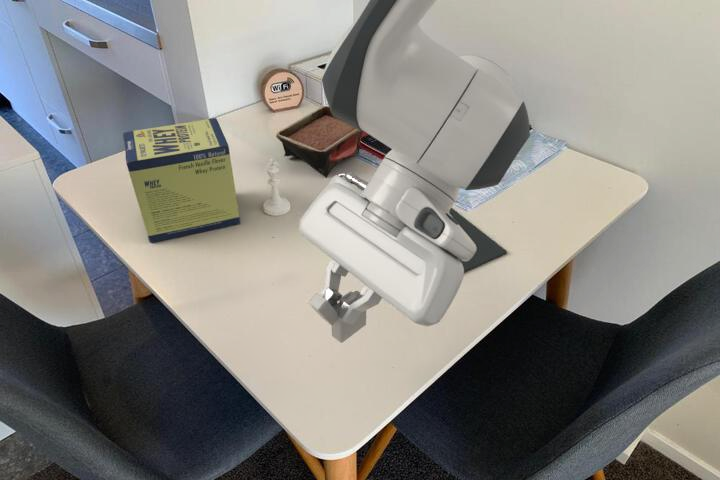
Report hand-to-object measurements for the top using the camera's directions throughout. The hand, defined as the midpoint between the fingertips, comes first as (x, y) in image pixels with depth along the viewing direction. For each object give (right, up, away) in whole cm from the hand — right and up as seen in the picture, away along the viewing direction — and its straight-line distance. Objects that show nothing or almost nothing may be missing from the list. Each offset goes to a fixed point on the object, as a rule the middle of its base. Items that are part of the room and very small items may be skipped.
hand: (334, 312), depth 56 cm
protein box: (-27, +12, +36) cm, 47 cm away
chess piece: (-12, +13, +39) cm, 43 cm away
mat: (+15, +8, +32) cm, 37 cm away
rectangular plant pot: (-5, +25, +53) cm, 59 cm away
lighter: (0, -3, +3) cm, 5 cm away
